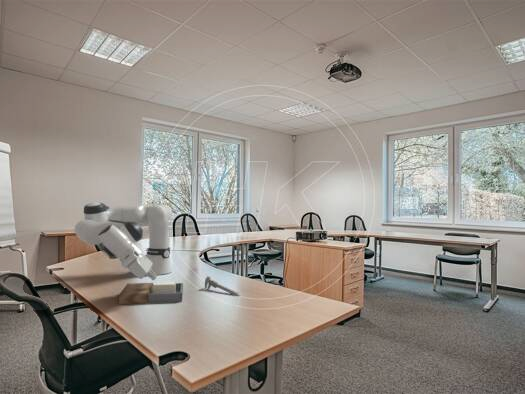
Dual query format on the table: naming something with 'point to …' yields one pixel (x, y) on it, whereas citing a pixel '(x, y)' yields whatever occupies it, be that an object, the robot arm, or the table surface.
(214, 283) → the caliper
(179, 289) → the bin
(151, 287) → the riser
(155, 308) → the table surface
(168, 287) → the block
